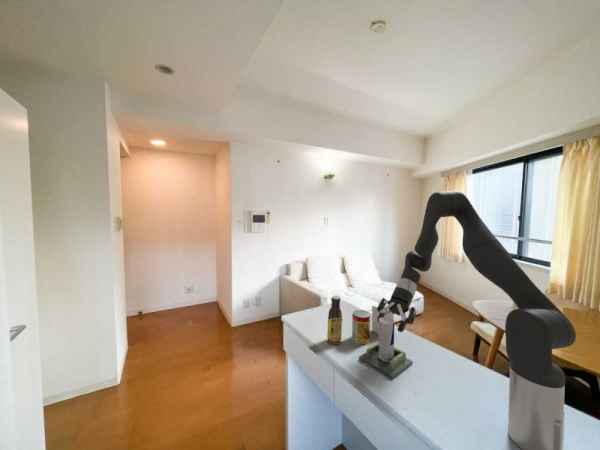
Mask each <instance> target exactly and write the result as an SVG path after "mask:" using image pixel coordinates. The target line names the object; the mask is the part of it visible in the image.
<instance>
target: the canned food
mask: <svg viewBox="0 0 600 450" xmlns="http://www.w3.org/2000/svg"><path fill="white" fill-rule="evenodd" d="M351 314H352V317H351V318H352V319H351V320H352V325H351V326H352V327H351V330H352V331H351V332H352V333H351V334H352V336H351V339H352V340H353V342H354V343H357V344H358V345H359V344H360V345H366V344H367V345H368V344H369V343H370V342H371V312H369V311H367V310H364V309H356V310H353V311H352V313H351Z"/></svg>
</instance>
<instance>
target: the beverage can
mask: <svg viewBox="0 0 600 450" xmlns="http://www.w3.org/2000/svg"><path fill="white" fill-rule="evenodd" d="M377 341H378V342H377V343H378V357H379V358H380V359H381V360H382V361H385V362H389V361H390V360H392V359H393V358H394V347H395V320H394V321H393V320H392V319H390V318H385V317H382V318H379V334H378V340H377Z"/></svg>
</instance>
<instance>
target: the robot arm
mask: <svg viewBox="0 0 600 450" xmlns="http://www.w3.org/2000/svg"><path fill="white" fill-rule="evenodd" d="M447 217H453V218H455V219H456V220H457V222H458V224H459V225H460V226H461V229H462V243H461V244H462V250H463V253H464V255H465V256H466V258H467V259H468V261H469V262H470V263H471V265H472V266H473V267H474V269H475V270H476V271H477V272H478V273H479V274H480V275H481V276H483V277H484V278H486V279H487V280H488V281H489V282H491V283H492V284H493V285H495V286H497V288H499V289H500V290H502V291H503V292H504V293H505V294H506V295H507V296H508V297H509V298H510V299H511V300H512V301H513V303H514V304H515V305H516V307H517V309H513V310H511V311H509V313H508V314H507V316H506V318H505V325H504V329H505V351H506V355H507V358H508V360H509V387H508V421H507V433H508V436H509V437H510V439H511V440H512V442H513V443H514V444H515V445H516V446H517V447H519V448H520V449H521V450H564V442H565V441H564V440H565V439H564V437H565V435H564V434H565V388H566V387H565V386H566V376H565V372H564V371H563V369H562V368H560V366H558V365H557V364H555V363H553V350H558V349H564V348H568V347H571V346H572V345H573V344H575V342H576V340H577V339H576V338H577V333H576V330H575V328H574V326H573V323H572V322H571V321H570V319H569V318H568V317H567V316H566V315H565V314H564V312H562V311H561V310H560V308H559V307H558V306H556V304H555V303H554V302H552V301H551V300H550V298H548V297H547V295H546V294H544V292H542V291H541V290H540V288H539V287H538V286H537V285H536V284H535V283H534V282H533V281H532V280H531V278H530V277H529V276H528V275H527V273H526V272H525V271H524V270H523V269H522V268H521V266H520V265H518V263H517V262H516V261H515V259H514V258H513V257H512V255H511V254H510V253H509V252H508V250H507V249H506V248H505V247H504V245H503V244H502V243H501V242H500V241H499V240H498V238H497V236H495V235H494V234H493V233H492V231H491V230H490V229H489V227H488V226H487V225H486V223H485V222H484V221H483V219H482V218H481V217H480V216H479V214H478V213H477V211H476V210H475V208H474V206H473V205H472V203H471V201H470V200H469V198H468V197H467V196H466V195H465V194H464V193H463V192H462V191H460V190H455V189H453V190H444V191H437V192H433V193H432V194H431V195H430V196H429V197H428V200H427V202H426V207H425V211H424V216H423V221H422V227H421V231H420V234H419V236H418V238H417V240H416V242H415V243H416V244H415V246H414V250H411V251H408V252H407V253H406V255H405V258H404V267H403V270H402V274H401V277H400V279H399V280H398V281H397V283H396V286H395V287H394V290H393V292H392V294H391V296H390V299H389V300H387V299H386V298H385V297H383V298H381V300H380V301H379V303H378V304H379V305H378V307H377V310H378V312H379V313H380V314H379V316H378V318H377V320H378V323H379V318H382V317H385V315H386V314H390V313H393V314H394V315H397V316H400V317H401V320H400V322H399V324H398V326H397V331H398V332H399V333H402V332H404V331H405V328H406V326H407V325H413V324H414V321H415V318H416V315H417V312H418V311H417V310H416V308H415V307H414V306H412V307H411V304H412V302H413V299H414V297H415V295H416V293H417V288H418V286H419V283H420V280H421V274H420V273H419V272H422V273H424V272H428V271H429V270H430V269H431V266H432V259H433V258H432V256H433V253H434V252H435V251H434V250H435V249H436V247H437V245H438V243H439V233H438V230H437V224H438V221H439V220H440V219H441V218H447ZM417 270H418V271H419V272H418V271H417ZM385 305H388V306H386V307H385ZM388 309H389V310H388ZM407 312H409V314H408V317H407V316H406V313H407Z"/></svg>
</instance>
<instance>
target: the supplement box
mask: <svg viewBox="0 0 600 450" xmlns="http://www.w3.org/2000/svg"><path fill="white" fill-rule="evenodd" d="M379 304H380V303H378V304H377V303H376V304H373V305H372V306H371V331H372V332H374V333H376V334H377V335H379V323H378V320H377V318H378V316H379V314H380V313H379V312H378V310H377V307H378V305H379ZM386 306H388V304H387V305H385V307H386ZM388 310H389V309H388ZM394 316H395V314H393V313H390V314H386V315H385V318H390V319H392V320H393V321H394V322H395V318H394Z"/></svg>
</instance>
